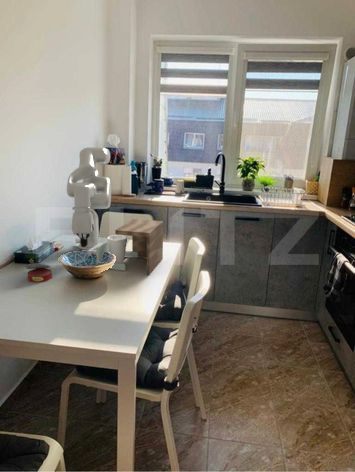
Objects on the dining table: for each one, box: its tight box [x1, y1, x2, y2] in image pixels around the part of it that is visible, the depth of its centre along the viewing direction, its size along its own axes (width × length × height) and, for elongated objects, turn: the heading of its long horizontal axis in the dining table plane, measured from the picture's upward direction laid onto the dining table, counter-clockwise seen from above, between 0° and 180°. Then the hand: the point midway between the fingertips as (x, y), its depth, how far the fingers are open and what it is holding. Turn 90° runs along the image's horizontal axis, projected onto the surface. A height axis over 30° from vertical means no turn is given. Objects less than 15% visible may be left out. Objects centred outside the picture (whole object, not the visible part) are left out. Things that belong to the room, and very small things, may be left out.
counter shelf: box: [114, 218, 164, 276], centre depth 173 cm, size 16×24×20 cm, turn 168°
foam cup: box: [106, 234, 128, 264], centre depth 177 cm, size 10×9×13 cm
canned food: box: [25, 262, 53, 283], centre depth 156 cm, size 11×10×10 cm
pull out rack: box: [86, 240, 139, 271], centre depth 177 cm, size 20×20×10 cm
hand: (84, 246), depth 179 cm, fingers closed
